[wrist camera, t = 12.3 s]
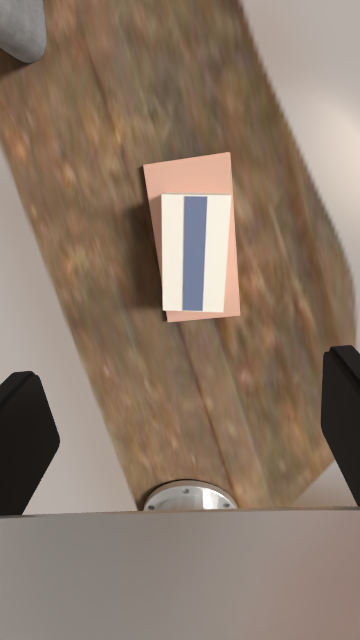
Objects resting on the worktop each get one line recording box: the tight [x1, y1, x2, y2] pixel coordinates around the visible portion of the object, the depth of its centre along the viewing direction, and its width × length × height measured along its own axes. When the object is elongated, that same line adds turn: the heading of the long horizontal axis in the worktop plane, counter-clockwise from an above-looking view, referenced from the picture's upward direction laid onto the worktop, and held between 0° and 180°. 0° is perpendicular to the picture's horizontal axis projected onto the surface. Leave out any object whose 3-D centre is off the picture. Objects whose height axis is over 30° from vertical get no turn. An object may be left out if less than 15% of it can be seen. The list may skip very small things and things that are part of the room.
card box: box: [161, 192, 231, 312], centre depth 27 cm, size 5×9×4 cm, turn 179°
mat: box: [143, 152, 240, 322], centre depth 29 cm, size 14×7×1 cm, turn 7°
